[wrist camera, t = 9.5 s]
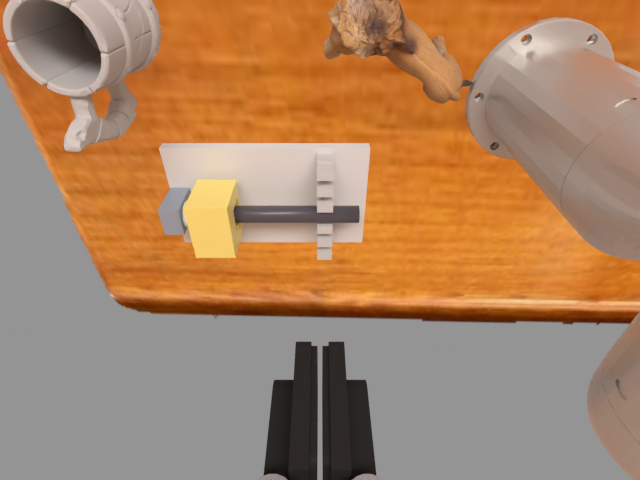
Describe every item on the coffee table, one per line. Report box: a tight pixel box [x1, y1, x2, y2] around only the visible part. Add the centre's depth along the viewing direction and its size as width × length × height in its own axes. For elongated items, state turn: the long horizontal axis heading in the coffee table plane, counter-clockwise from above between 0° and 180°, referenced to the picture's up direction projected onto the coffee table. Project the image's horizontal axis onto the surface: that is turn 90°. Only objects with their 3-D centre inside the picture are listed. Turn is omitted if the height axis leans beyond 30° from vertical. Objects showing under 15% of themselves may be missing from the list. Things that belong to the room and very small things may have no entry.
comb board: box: [157, 143, 370, 260], centre depth 41 cm, size 21×12×6 cm, turn 90°
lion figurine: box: [323, 0, 472, 104], centre depth 30 cm, size 15×5×9 cm, turn 64°
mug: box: [3, 0, 161, 152], centre depth 29 cm, size 8×12×12 cm, turn 177°
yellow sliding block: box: [183, 180, 244, 258], centre depth 40 cm, size 4×6×5 cm, turn 0°
